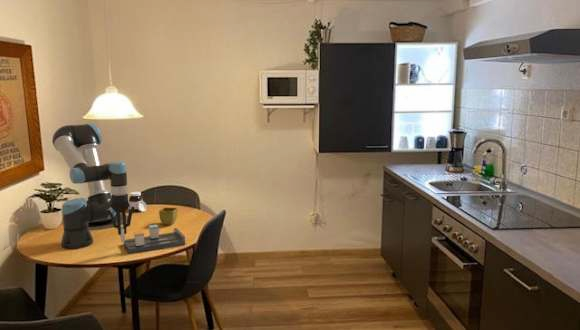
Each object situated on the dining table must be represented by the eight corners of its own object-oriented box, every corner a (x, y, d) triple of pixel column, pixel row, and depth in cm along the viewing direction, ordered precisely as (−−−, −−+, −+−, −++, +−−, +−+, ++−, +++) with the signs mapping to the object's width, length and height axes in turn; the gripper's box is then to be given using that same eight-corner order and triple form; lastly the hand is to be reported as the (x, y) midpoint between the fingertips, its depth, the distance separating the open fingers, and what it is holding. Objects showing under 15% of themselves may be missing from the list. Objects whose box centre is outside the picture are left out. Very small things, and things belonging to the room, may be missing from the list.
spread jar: (133, 208, 313) (132, 191, 311) (149, 208, 313) (148, 191, 311) (126, 212, 301) (125, 195, 299) (144, 212, 301) (143, 195, 299)
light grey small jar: (151, 238, 242) (150, 227, 241) (149, 236, 245) (148, 225, 244) (159, 237, 244) (158, 226, 243) (157, 235, 247) (156, 224, 246)
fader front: (136, 246, 230) (135, 234, 229) (134, 243, 234) (133, 232, 233) (144, 244, 232) (144, 233, 231) (143, 242, 236) (142, 231, 235)
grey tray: (129, 254, 227) (128, 245, 227) (123, 244, 241) (122, 236, 241) (185, 244, 241) (184, 236, 240) (176, 236, 255) (176, 228, 254)
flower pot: (178, 222, 281) (178, 207, 279) (173, 226, 272) (172, 211, 271) (164, 221, 282) (163, 207, 280) (159, 225, 273) (158, 211, 272)
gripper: (106, 196, 219) (109, 245, 222) (134, 193, 225) (138, 240, 228) (104, 193, 225) (107, 240, 229) (132, 190, 231) (135, 236, 235)
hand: (122, 240), depth 229 cm, fingers closed
